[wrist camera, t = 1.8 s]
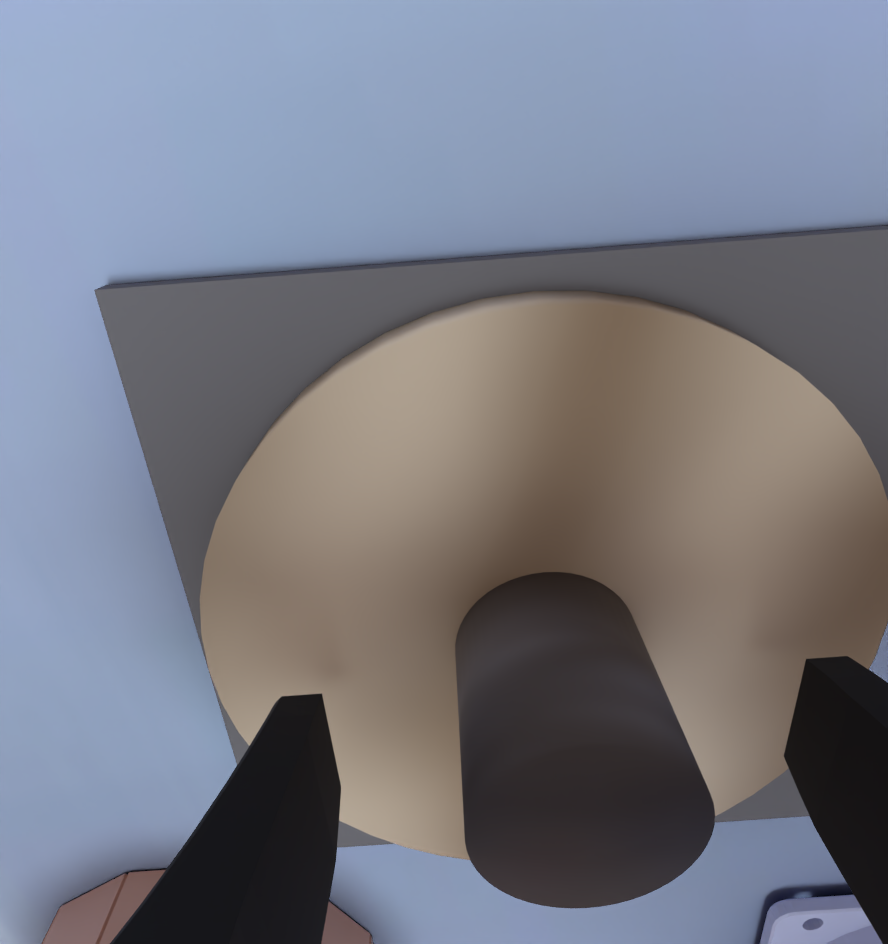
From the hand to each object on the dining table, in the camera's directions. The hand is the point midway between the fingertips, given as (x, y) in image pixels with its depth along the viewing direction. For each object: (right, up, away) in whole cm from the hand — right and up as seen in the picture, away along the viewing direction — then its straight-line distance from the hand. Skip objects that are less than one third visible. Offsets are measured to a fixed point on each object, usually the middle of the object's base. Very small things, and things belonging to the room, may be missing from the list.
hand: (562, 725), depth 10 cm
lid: (0, +1, +3) cm, 3 cm away
